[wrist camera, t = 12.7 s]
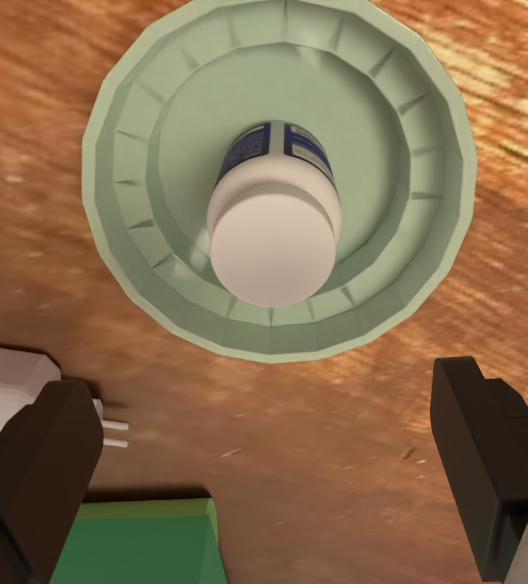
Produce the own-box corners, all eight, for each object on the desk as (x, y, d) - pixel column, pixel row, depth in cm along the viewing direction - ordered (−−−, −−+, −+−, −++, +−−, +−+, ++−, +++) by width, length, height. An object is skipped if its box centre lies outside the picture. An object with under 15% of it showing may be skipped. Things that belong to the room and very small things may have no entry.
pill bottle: (229, 224, 28) (203, 322, 20) (218, 120, 26) (182, 182, 17) (330, 220, 28) (348, 318, 19) (330, 114, 25) (353, 174, 17)
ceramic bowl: (129, -53, 22) (82, -69, 17) (493, 29, 24) (552, 38, 18) (114, 275, 31) (80, 330, 26) (381, 325, 32) (399, 387, 27)
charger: (135, 453, 39) (-59, 425, 38) (139, 362, 35) (-82, 328, 34) (117, 506, 35) (-100, 476, 34) (119, 410, 30) (-133, 374, 30)
